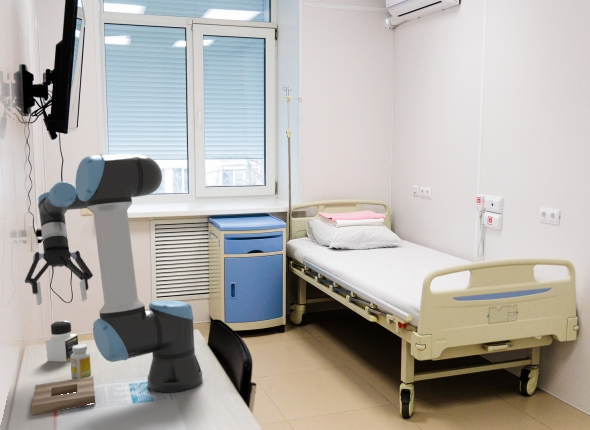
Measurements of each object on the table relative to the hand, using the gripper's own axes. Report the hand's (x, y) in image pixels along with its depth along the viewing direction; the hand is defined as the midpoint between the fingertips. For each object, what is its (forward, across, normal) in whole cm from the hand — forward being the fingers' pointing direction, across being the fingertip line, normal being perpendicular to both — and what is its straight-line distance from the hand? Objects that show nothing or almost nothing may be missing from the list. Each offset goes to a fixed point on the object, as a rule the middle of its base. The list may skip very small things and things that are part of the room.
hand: (62, 302), depth 185 cm
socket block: (+31, +7, +17) cm, 36 cm away
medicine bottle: (+15, -3, -15) cm, 21 cm away
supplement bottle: (+25, -1, +5) cm, 26 cm away
